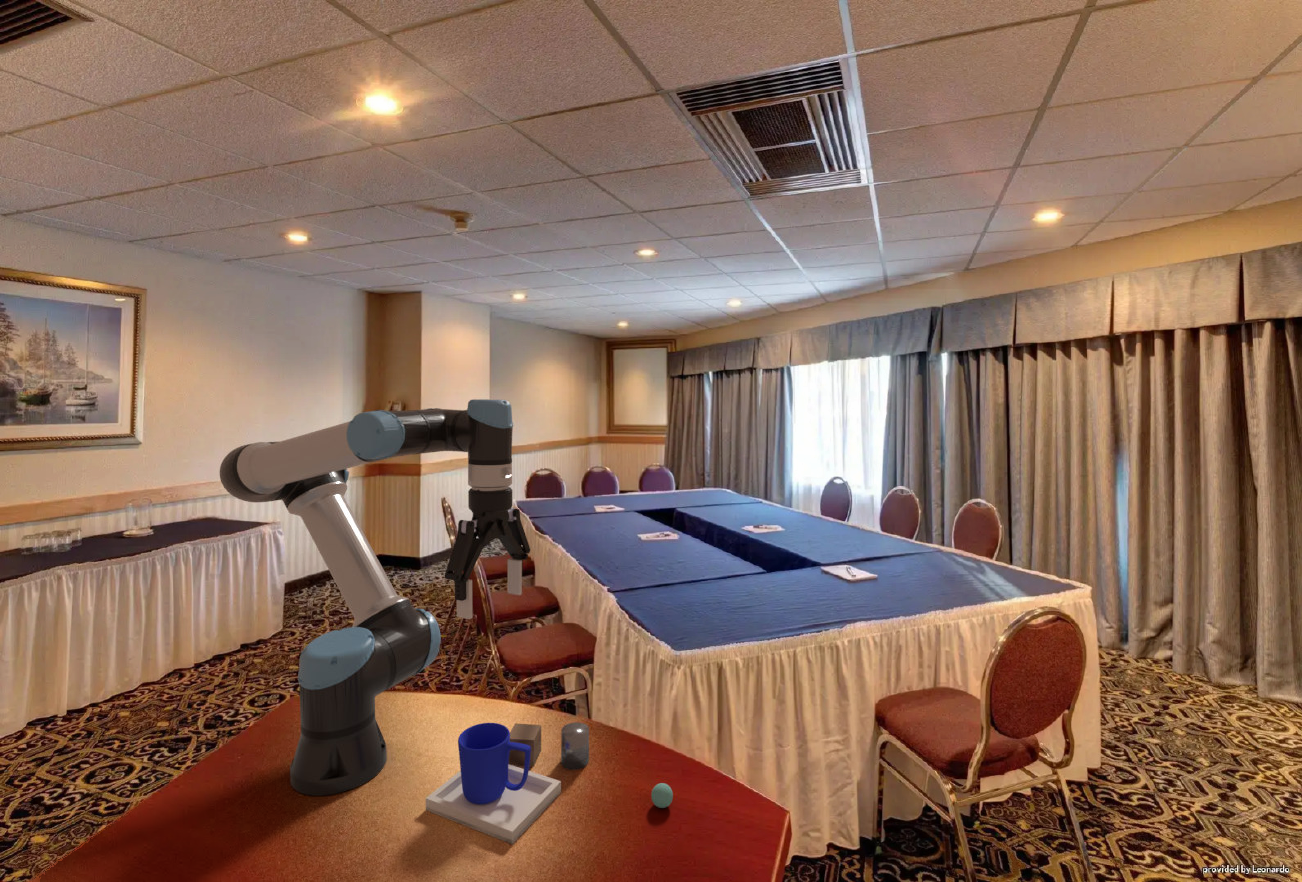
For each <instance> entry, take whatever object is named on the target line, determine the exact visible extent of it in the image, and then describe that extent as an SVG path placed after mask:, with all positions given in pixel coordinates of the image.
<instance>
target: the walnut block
mask: <svg viewBox="0 0 1302 882" xmlns="http://www.w3.org/2000/svg"><path fill="white" fill-rule="evenodd" d="M510 742H515V743H522V744H526V745H529V746H530V747H531V755H530V765H529V767H535V765H536V764H537V760H538V759H539V756H540V754H541V752H542V724H530V723H514V725H513V727H512V728H511V730H510ZM508 764H510V765H513V766H521V767H524V764H525V752H523V751H519V750H510V753H509V763H508Z"/></svg>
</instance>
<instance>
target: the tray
mask: <svg viewBox="0 0 1302 882" xmlns="http://www.w3.org/2000/svg"><path fill="white" fill-rule="evenodd" d="M523 772H524V768H522V767H518V766H517V765H510V764H508V780H509V782H510V783H512V784H519V783H520V782H521V780H522V777H523ZM561 793H562V782H561V780H558V779H555V778H552V777H549V776H545V775H542V774H540V773H537V772H533V771H531V770H529V772H528V776H527V780H526V782H525V784H524V786H523V787H522V788H521V789H520V790H517V791H512V790H509V789H507V788H506V787H505V790H504V792H503V794H502V795H501V796H500V797H499V798H498V799H496V800H495V801H493V802H490V803H487V804H474V803H471V802H469V801H468V800H467V799H466V798H465V796H464V794H463V790H462V780H461V770H459V771H458V772H457V773H455V774H454V775H453V776H452V777H450V778H449V779H448V780H447V781H445V782H444V783H443V784H442V785H440V786H439V787H438V788H437V789H434V791H432V792H431V793H430V794H429V795H427V797H425V811H427V812H430V813H432V814H435V815H438V816H440V817H442V818H445V819H447V820H449V821H451V822H455V823H457V824H460V825H461V826H462V825H463V826H465V827H468V828H470V829H473V830H474V831H477V832H480V833H482V834H485V835H488V836H490V837H493V838H495V839H498V840H500V841H503V842H505V843H508V844H511V845H514V843H516V841H517V840H518V839H520V837H521V836H522V835H523V834H524V833H525V832H526V831H527V829H529V828H530V826H531V825H532V824H533V823H534V822H535V821H536V820H537V819H538V818H539V817H540V816H541V814H542V813H544V812H545V811H546V809H547V808H548V807H549V806H550V805H551V804H552V803H553V802H554V800H555V799H557V798H558V797H559V795H560V794H561Z"/></svg>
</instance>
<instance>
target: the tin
mask: <svg viewBox="0 0 1302 882" xmlns="http://www.w3.org/2000/svg"><path fill="white" fill-rule="evenodd" d="M560 732H561V733H560V734H561V736H560V737H561V739H560V741H561V742H560V749H561V750H560V763H561V764H560V765H561V766H562V767H563V769H564V768H565V769H566V770H570V771H578V770H581V769H584V768H585V767H587V766H588V764H589V762H590V727H589V726H588V725H587V724H585V723H583V722H569V723H567V724H565V725H563V727H562V728H561V731H560Z"/></svg>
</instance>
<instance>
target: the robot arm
mask: <svg viewBox="0 0 1302 882" xmlns="http://www.w3.org/2000/svg"><path fill="white" fill-rule="evenodd" d="M513 429H514V423H513V412H512V403H510V402H509V400H507V399H484V398H483V399H482V398H481V399H479V398H478V399H476V398H475V399H473V398H472V399H469V400H468V403H467V409H463V410H462V409H448V408H447V409H444V408H437V407H436V408H423V409H422V408H421V409H415V410H414V409H412V410H411V409H409V410H383V409H376V410H370V411H363V412H360V413H357V414H355V416H353V418H352V420H350V421H347V422H343V423H339V424H336V425H332V426H329V427H325V428H323V429H319V430H315V431H312V432H308V433H305V434H301V435H298V436H295V437H291V438H288V439H285V440H280V441H269V442H265V441H258V442H254V443H249V444H244V445H240V446H238V447H236V448H234V449H232V450H231V451H230V452H229V453H227V455H226V456H225V457H224V458H223V460H222V462H221V464H220V467H219V478H220V482H221V484H222V486H223V488H224V489H225V491H227V493H229V494H230V495H231V496H232V497H234V498H235V499H238V500H241V501H243V502H249V503H268V502H276V501H282V502H283V504H284V506H285V508H286V510H287V511H288V513H289V514H291V515H295V516H299V517H300V518H301V520H302V522H303V523H304V525H305V527H306V529H307V531H308V533H309V535H310V537H311V539H312V541H313V542H314V544H315V546H316V548H317V550H318V551H319V554H320V556H321V558H322V560H323V561H324V563H325V565H326V567H327V568H328V571H329V573H330V575H331V576H332V579H333V580H334V582H335V584H336V587H337V588H338V590H339V592H340V593H341V596H342V598H343V599H344V601H345V604H346V605H347V607H348V609H349V610H350V613H351V615H352V617H353V618H354V620H353V623H352V626H351V627H350V626H349V627H344V628H343V627H342V629H340V630H337V629H334V630H332V631H328V632H327V633H324V634H321V635H319V636H318V637H316V638H314V639H313V640H311V641H310V642H309V643H308V644H307V645H306V646H305V647H304V648H303V650H302V651H301V653H300V656H299V667H298V669H299V670H298V674H297V680H298V683H299V708H300V710H299V711H300V712H299V713H300V718H299V719H300V736H299V740H298V743H297V747H296V749H295V753H294V757H293V758H292V761H291V764H290V767H289V768H290V769H289V777H290V780H289V781H290V785H291V787H292V788H293V789H294V790H295V791H297V792H298V793H300V794H303V795H307V796H314V797H315V796H317V797H319V796H329V795H335V794H341V793H345V792H347V791H349V790H353V789H356V788H357V787H360V786H362V785H363V784H366V783H367V782H369V781H370V780H372V779H373V778H375V777H376V776H377V775H378V774H379V773H380V772H381V771H382V770H383V768H384V767H385V765H386V763H387V757H388V756H387V754H388V750H387V744H386V741H385V739H384V736H383V733H382V731H381V728H380V726H379V724H378V721H377V718H376V697H377V696H378V695H380V694H382V693H383V692H386V691H387V690H389V689H390V688H393V687H394V686H396V685H398V684H400V683H401V682H403V681H405V680H406V679H407V680H408V678H410V677H414V676H416V675H418V674H419V673H420V672H422V671H423V670H424V669H425V668H427V667H429V666H430V665H431V664H432V663H433V662H434V661H435V659H436V658H437V656H438V654H439V652H440V645H441V643H442V642H441V639H442V638H441V631H440V626H439V624H438V621H437V620H436V618H435V617H434V615H433V614H432V613H431V612H430V611H426V610H425V609H424V608H417V607H416V608H414V607H415V606H414V605H413V604H412V602H411V600H410V598H409V597H404V596H401V595H399V594H398V593H397V591H396V590H395V588H394V587H393V585H392V583H391V581H390V579H389V577H388V574H387V573H386V571H385V570H384V567H383V566H382V564H381V562H380V560H379V559H378V557H377V555H376V553H375V551H374V550H373V548H372V546H371V544H370V542H369V541H368V538H367V537H366V535H365V533H364V531H363V529H362V528H361V526H360V523H359V522H358V521H357V518H356V517H355V515H354V512H353V511H352V509H351V507H350V506H349V503H348V502H347V500H346V497H345V495H346V492H347V490H348V485H347V483H348V482H347V481H348V480H349V476H350V472H349V471H348V469H351V468H354V467H358V466H361V465H362V466H363V465H366V464H369V463H373V462H379V461H384V460H388V459H391V458H397V457H403V456H410V455H419V454H420V455H421V454H429V453H437V452H438V453H439V452H461V453H467V485H468V486H469V487H470V488H469V489H468V490H467V492H468V494H467V497H468V498H467V500H468V506H467V507H468V509H469V510H470V511H471V513H472V518H471V520H466V519H460V520H459V521H458V525H457V533H456V534H457V535H456V538H455V541H454V544H453V546H452V550H451V554H450V557H449V560H448V563H447V566H446V569H445V572H444V579H445V580H451V581H453V582H454V598H455V600H456V617H457V618H461V619H466V620H471V619H473V579H469V578H470V576H471V575H472V572H473V570H474V568H475V566H476V564H477V562H478V559H479V558H480V555H481V554H482V551H483V549H484V547H486V546H488V544H489V542H493V541H494V540H495V539H496V540H497V539H498V540H499V541H500V543H501V545H502V547H503V548H504V549H505V550H506V552H507V553H508V555H509V557H510V558H508V559H507V594H508V595H509V594H511V595H513V596H521V595H523V585H522V584H523V582H522V581H523V580H522V579H523V578H522V577H523V576H522V575H523V572H524V571H523V569H524V568H523V565H524V562H523V560H524V561H525V560H526V561H527V560H528V558H529V554H530V553H531V546H530V544H529V541H528V538H527V535H526V532H525V529H524V526H523V524H522V521H521V512H520V509H519V508H515V507H514V508H513V489H512V487H510V486H511V485H512V484H513V453H512V452H513Z"/></svg>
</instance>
